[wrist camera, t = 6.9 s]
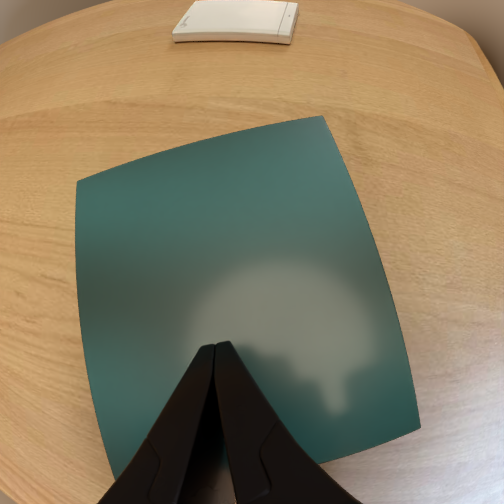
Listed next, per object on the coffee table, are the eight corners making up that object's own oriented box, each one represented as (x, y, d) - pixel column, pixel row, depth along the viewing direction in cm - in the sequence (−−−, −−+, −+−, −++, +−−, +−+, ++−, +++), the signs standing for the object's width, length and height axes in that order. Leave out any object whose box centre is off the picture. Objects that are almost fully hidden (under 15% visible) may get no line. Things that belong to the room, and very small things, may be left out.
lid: (83, 187, 15) (76, 180, 14) (321, 124, 14) (322, 114, 14) (123, 478, 10) (115, 484, 9) (413, 424, 10) (421, 428, 9)
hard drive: (170, 32, 26) (289, 33, 24) (195, -1, 28) (298, 0, 27) (174, 43, 28) (289, 46, 26) (198, 9, 30) (298, 11, 28)
